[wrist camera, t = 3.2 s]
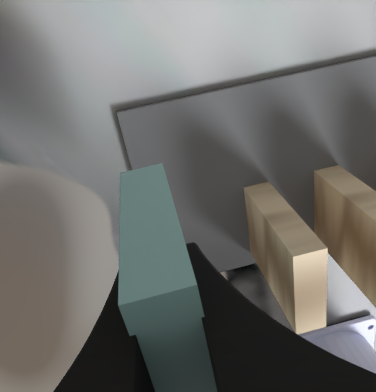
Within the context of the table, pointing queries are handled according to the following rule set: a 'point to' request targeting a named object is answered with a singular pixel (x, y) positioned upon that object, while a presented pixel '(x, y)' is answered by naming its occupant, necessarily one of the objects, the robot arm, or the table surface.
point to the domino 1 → (160, 285)
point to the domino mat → (255, 147)
